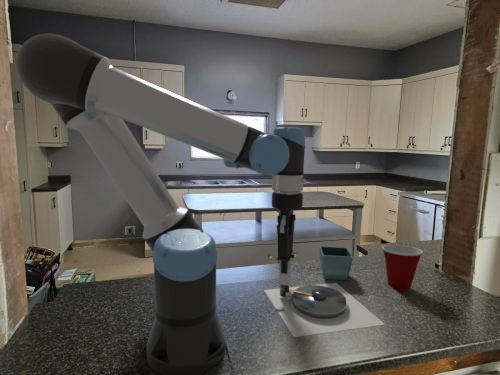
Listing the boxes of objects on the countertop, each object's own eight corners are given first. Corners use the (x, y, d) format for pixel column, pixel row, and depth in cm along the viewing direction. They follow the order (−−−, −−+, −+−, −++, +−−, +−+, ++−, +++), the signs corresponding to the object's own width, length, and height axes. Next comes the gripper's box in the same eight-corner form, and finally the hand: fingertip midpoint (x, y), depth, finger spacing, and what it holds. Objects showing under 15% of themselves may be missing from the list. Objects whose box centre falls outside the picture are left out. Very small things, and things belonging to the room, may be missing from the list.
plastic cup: (405, 278, 101) (408, 241, 99) (427, 295, 90) (431, 253, 89) (371, 279, 100) (374, 242, 98) (390, 296, 89) (394, 254, 87)
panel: (293, 342, 68) (294, 335, 68) (263, 294, 89) (263, 288, 89) (384, 329, 73) (385, 322, 73) (336, 286, 94) (336, 281, 94)
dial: (349, 298, 84) (350, 271, 83) (341, 323, 72) (343, 292, 71) (287, 285, 91) (288, 260, 90) (271, 307, 79) (272, 278, 78)
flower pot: (345, 274, 104) (347, 247, 102) (351, 286, 95) (353, 257, 94) (317, 272, 104) (319, 245, 103) (321, 284, 96) (322, 255, 94)
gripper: (299, 196, 72) (295, 297, 75) (306, 189, 84) (302, 276, 87) (266, 194, 74) (264, 292, 77) (277, 187, 86) (275, 272, 89)
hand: (284, 283), depth 82 cm, fingers closed
